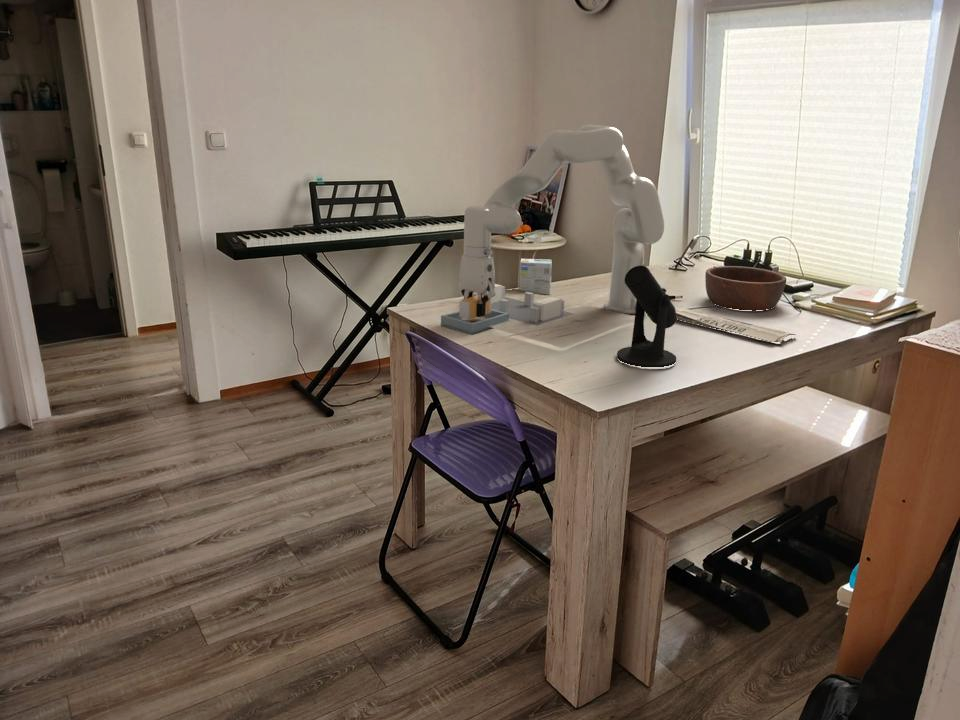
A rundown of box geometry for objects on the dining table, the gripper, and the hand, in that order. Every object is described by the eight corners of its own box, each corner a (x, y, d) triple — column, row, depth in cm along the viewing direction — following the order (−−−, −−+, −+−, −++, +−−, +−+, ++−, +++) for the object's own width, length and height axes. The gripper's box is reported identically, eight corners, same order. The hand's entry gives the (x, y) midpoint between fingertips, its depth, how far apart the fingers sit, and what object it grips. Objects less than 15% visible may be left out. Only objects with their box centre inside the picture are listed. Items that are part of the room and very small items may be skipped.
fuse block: (573, 316, 233) (574, 300, 231) (537, 328, 220) (538, 311, 219) (497, 298, 252) (498, 283, 250) (460, 308, 239) (460, 292, 237)
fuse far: (502, 300, 245) (502, 285, 243) (481, 306, 238) (482, 290, 236) (493, 298, 247) (494, 283, 246) (473, 303, 240) (473, 288, 238)
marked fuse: (491, 313, 224) (491, 296, 222) (468, 319, 217) (468, 302, 215) (482, 310, 226) (482, 294, 224) (458, 317, 219) (459, 300, 217)
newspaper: (795, 340, 218) (797, 328, 217) (776, 349, 210) (778, 337, 208) (684, 314, 241) (685, 303, 240) (663, 321, 232) (664, 310, 231)
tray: (508, 323, 224) (509, 313, 223) (472, 335, 213) (472, 324, 212) (477, 315, 232) (478, 305, 231) (440, 325, 220) (441, 315, 219)
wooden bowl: (749, 293, 268) (753, 264, 264) (798, 312, 245) (804, 280, 242) (687, 297, 260) (690, 267, 257) (732, 317, 238) (736, 284, 234)
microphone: (600, 357, 198) (608, 261, 189) (647, 347, 207) (657, 255, 199) (643, 375, 186) (653, 273, 178) (690, 362, 196) (702, 266, 188)
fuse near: (561, 314, 231) (562, 298, 229) (541, 321, 224) (542, 304, 222) (551, 312, 233) (552, 296, 232) (531, 318, 226) (532, 302, 224)
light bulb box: (550, 290, 264) (552, 259, 260) (550, 295, 258) (552, 263, 254) (519, 288, 265) (520, 257, 261) (518, 293, 259) (519, 261, 255)
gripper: (508, 254, 213) (505, 318, 219) (464, 245, 223) (462, 306, 229) (490, 258, 207) (488, 323, 214) (446, 248, 218) (445, 311, 224)
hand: (475, 314), depth 221 cm, fingers closed on marked fuse, 3 cm apart
